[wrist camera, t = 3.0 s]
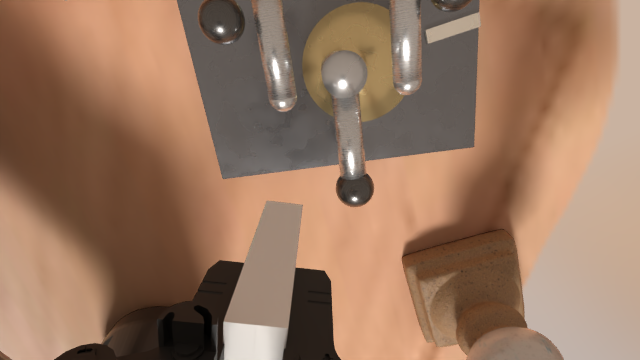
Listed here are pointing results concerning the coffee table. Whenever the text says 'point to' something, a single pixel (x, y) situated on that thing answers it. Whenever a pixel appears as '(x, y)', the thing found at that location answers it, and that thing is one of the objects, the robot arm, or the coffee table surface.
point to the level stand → (307, 117)
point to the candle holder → (475, 299)
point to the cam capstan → (337, 67)
